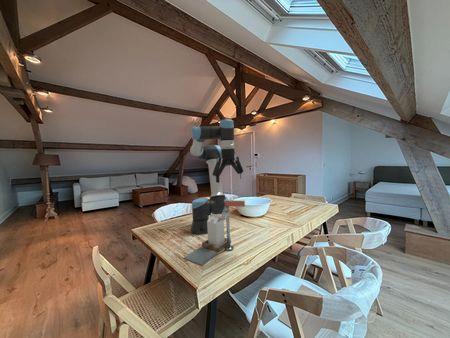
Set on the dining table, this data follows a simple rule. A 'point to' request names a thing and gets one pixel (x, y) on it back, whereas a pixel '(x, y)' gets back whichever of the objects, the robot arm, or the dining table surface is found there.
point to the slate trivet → (200, 256)
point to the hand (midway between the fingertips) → (229, 186)
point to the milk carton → (215, 230)
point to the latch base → (229, 248)
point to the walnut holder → (215, 248)
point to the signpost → (227, 213)
